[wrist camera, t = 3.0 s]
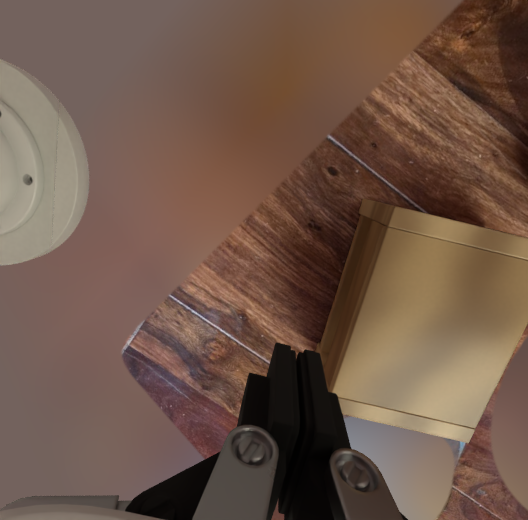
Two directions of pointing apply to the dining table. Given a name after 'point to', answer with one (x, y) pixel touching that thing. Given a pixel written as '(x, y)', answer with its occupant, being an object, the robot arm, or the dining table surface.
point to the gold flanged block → (424, 320)
